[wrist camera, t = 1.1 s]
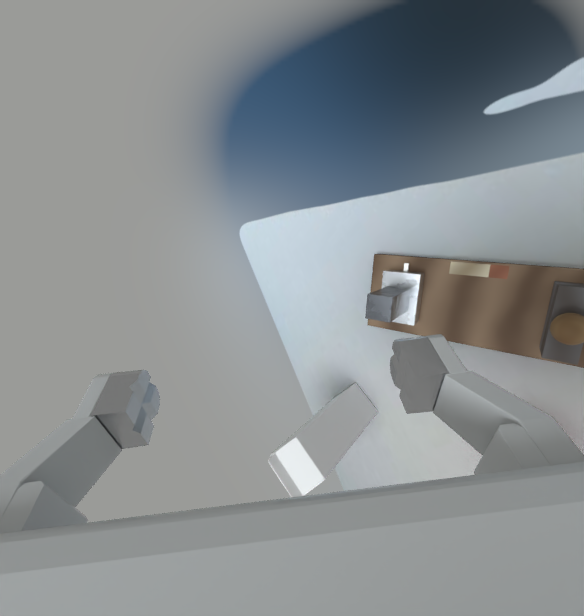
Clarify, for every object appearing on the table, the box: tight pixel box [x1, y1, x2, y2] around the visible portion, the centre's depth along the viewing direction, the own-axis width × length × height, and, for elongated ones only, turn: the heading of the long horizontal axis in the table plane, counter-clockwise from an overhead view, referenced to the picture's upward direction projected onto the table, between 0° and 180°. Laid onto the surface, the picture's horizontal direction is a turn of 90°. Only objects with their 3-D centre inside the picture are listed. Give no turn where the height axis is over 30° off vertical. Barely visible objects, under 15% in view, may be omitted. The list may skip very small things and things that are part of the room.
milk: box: [268, 383, 378, 497], centre depth 47 cm, size 6×6×22 cm
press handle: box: [365, 263, 425, 326], centre depth 42 cm, size 5×8×10 cm, turn 177°
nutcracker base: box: [368, 254, 584, 368], centre depth 40 cm, size 26×11×9 cm, turn 87°
